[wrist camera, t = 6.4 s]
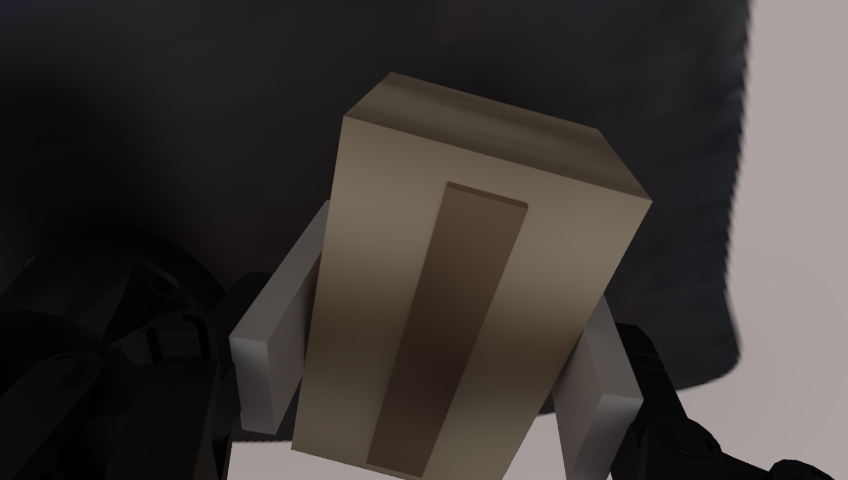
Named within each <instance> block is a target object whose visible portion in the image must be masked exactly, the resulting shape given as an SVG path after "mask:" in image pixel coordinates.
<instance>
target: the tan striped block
mask: <svg viewBox="0 0 848 480" xmlns="http://www.w3.org/2000/svg"><path fill="white" fill-rule="evenodd" d="M651 203H652V200H651V198H650V197H649V196H648V194H647V193H646V192H645V190H644V189H643V188H642V187H641V185H640V184H639V183H638V181H637V180H636V179H635V177H634V176H633V175H632V173H631V172H630V171H629V170H628V168H627V167H626V166H625V164H624V163H623V162H622V160H621V159H620V158H619V157H618V155H617V154H616V153H615V151H614V150H613V149H612V147H611V146H610V145H609V144H608V142H607V141H606V140H605V138H604V137H603V136H602V134H601V133H600V132H599V130H598V129H595V128H591V127H588V126H584V125H580V124H577V123H573V122H570V121H566V120H562V119H559V118H555V117H552V116H548V115H544V114H541V113H537V112H534V111H530V110H527V109H523V108H519V107H516V106H512V105H509V104H505V103H501V102H498V101H494V100H491V99H487V98H483V97H480V96H476V95H473V94H469V93H465V92H462V91H458V90H455V89H451V88H447V87H444V86H440V85H437V84H433V83H429V82H426V81H422V80H419V79H415V78H412V77H408V76H404V75H401V74H397V73H394V72H391V73H390V74H388V75H387V76H386V77H385V78H384V79H383V80H382V81H381V82H380V83H379V84H378V85H376V86H375V87H374V88H373V89H372V90H371V91H370V92H369V93H368V94H367V95H366V96H365V97H363V98H362V99H361V100H360V101H359V102H358V103H357V104H356V105H355V106H354V107H353V108H351V109H350V110H349V111H348V112H347V113H346V114H345V115H344V117H343V123H342V129H341V136H340V142H339V148H338V155H337V161H336V167H335V174H334V180H333V186H332V193H331V199H330V205H329V212H328V218H327V225H326V231H325V237H324V244H323V250H322V256H321V263H320V269H319V275H318V282H317V288H316V294H315V301H314V307H313V313H312V320H311V326H310V332H309V339H308V345H307V351H306V358H305V364H304V373H303V377H302V383H301V390H300V396H299V402H298V409H297V415H296V421H295V428H294V434H293V440H292V447H291V449H292V450H296V451H299V452H303V453H307V454H311V455H314V456H319V457H322V458H326V459H329V460H333V461H337V462H341V463H345V464H348V465H352V466H356V467H360V468H363V469H367V470H371V471H375V472H379V473H382V474H386V475H390V476H394V477H397V478H401V479H405V480H502V478H503V477H504V475H505V473H506V471H507V469H508V468H509V465H510V464H511V462H512V460H513V458H514V457H515V454H516V453H517V451H518V449H519V447H520V445H521V444H522V442H523V440H524V438H525V436H526V434H527V432H528V431H529V429H530V427H531V425H532V423H533V421H534V420H535V418H536V416H537V414H538V412H539V410H540V408H541V407H542V405H543V403H544V401H545V399H546V397H547V395H548V394H549V392H550V390H551V388H552V386H553V384H554V383H555V381H556V379H557V377H558V375H559V373H560V371H561V370H562V368H563V366H564V364H565V362H566V360H567V359H568V357H569V355H570V353H571V351H572V349H573V347H574V346H575V344H576V342H577V340H578V338H579V336H580V334H581V333H582V331H583V329H584V327H585V325H586V323H587V322H588V320H589V318H590V316H591V314H592V312H593V310H594V309H595V307H596V305H597V303H598V301H599V299H600V298H601V296H602V294H603V292H604V290H605V288H606V286H607V285H608V283H609V281H610V279H611V277H612V275H613V273H614V272H615V270H616V268H617V266H618V264H619V262H620V261H621V259H622V257H623V255H624V253H625V251H626V249H627V248H628V246H629V244H630V242H631V240H632V238H633V237H634V235H635V233H636V231H637V229H638V227H639V225H640V224H641V222H642V220H643V218H644V216H645V214H646V212H647V211H648V209H649V207H650V205H651Z"/></svg>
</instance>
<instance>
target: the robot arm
mask: <svg viewBox="0 0 848 480" xmlns="http://www.w3.org/2000/svg"><path fill="white" fill-rule="evenodd" d="M329 205H330V200H326V202H325V203H324V205H323V206H322V207H321V209H320V210H319V211H318V213H317V214H316V216H315V217H314V218H313V220H312V221H311V223H310V224H309V225H308V227H307V228H306V230H305V231H304V232H303V234H302V235H301V237H300V238H299V239H298V241H297V242H296V244H295V245H294V246H293V248H292V249H291V251H290V252H289V253H288V255H287V256H286V258H285V259H284V260H283V262H282V263H281V264H280V266H279V267H278V269H277V270H276V271H275V273H274V274H268V273H261V272H254V271H253V272H251V273H249V274H248V275H246V276H244V277H243V278H241V279H239V280H237V281H236V282H235V284H234V285H233V286H232V287H231V288H230V290H229V291H228V292H227V294H226V296H224V294H223V293H222V291H221V290H220V288H219V287H218V285H217V284H216V283H215V282H214V280H213V279H212V278H211V277H210V276H209V275H208V274H207V273H206V272H205V271H204V270H203V269H202V268H201V267H200V266H199V265H198V264H197V263H196V262H194V261H193V260H192V259H191V258H189V257H188V256H187V255H185V254H184V253H183V252H181V251H180V250H178V249H176V248H175V247H173V246H171V245H170V244H168V243H166V242H164V241H162V240H160V239H158V238H156V237H153V236H151V235H149V234H146V233H143V232H140V231H137V230H133V229H129V228H125V227H119V226H111V225H93V226H86V227H81V228H78V229H74V230H72V231H69V232H67V233H66V234H64V235H62V236H60V237H59V238H57V239H55V240H54V241H52V242H50V243H49V244H47V245H46V246H44V247H42V248H41V249H39V250H38V251H37V252H36V253H34V254H33V255H32V256H31V257H30V258H29V259H28V260H27V261H26V262H25V264H24V266H23V267H22V269H21V270H20V272H19V274H18V275H17V277H16V278H15V279H14V281H13V282H12V283H11V284H10V285H9V286H8V288H7V289H6V290H5V291H4V292H3V294H2V295H1V296H0V480H227V475H228V468H229V462H230V455H231V448H232V438H231V431H230V430H231V428H232V426H233V424H234V422H235V421H236V419H237V417H238V415H239V414H240V418H241V425H242V430H248V431H254V432H260V433H266V434H273V435H275V434H276V432H277V430H278V428H279V425H280V423H281V421H282V419H283V417H284V414H285V412H286V410H287V408H288V406H289V404H290V401H291V399H292V397H293V395H294V393H295V391H296V388H297V386H298V384H299V382H300V380H301V377H302V375H303V373H304V364H305V358H306V351H307V345H308V339H309V332H310V326H311V320H312V313H313V307H314V301H315V294H316V288H317V282H318V275H319V269H320V263H321V256H322V250H323V244H324V237H325V231H326V225H327V218H328V212H329ZM664 370H665V368H664V366H663V364H662V362H661V359H659V355H658V353H657V351H656V349H655V347H654V344H653V342H652V340H651V339H650V338H649V337H648V336H647V335H646V334H645V333H644V332H643V331H642V330H641V329H640V328H639V327H638V326H636V325H629V324H622V323H615V322H614V321H613V318H612V315H611V313H610V310H609V307H608V305H607V302H606V300H605V297H604V294H602V296H601V298H600V299H599V301H598V303H597V305H596V307H595V309H594V310H593V312H592V314H591V316H590V318H589V320H588V322H587V323H586V325H585V327H584V329H583V331H582V333H581V334H580V336H579V338H578V340H577V342H576V344H575V346H574V347H573V349H572V351H571V353H570V355H569V357H568V359H567V360H566V362H565V364H564V366H563V368H562V370H561V371H560V373H559V375H558V377H557V379H556V381H555V383H554V384H553V386H552V394H553V400H554V406H555V412H556V418H557V424H558V430H559V436H560V442H561V448H562V454H563V460H564V466H565V472H566V478H567V480H606V479H607V477H608V475H609V473H610V472H611V476H612V479H613V480H834V479H833V478H832V477H831V476H829V475H828V474H826V473H824V472H823V471H821V470H819V469H817V468H816V467H814V466H812V465H809V464H806V463H803V462H801V461H798V460H786V459H783V460H781V461H779V462H777V463H775V464H774V465H773V466H772V468H771V469H770V471H769V472H768V471H766V470H763V469H761V468H758V467H756V466H753V465H751V464H749V463H746V462H744V461H741V460H739V459H736V458H734V457H732V456H730V455H728V454H726V453H723V452H722V450H721V448H720V445H719V443H718V442H717V441H716V439H715V438H714V437H713V436H712V434H711V433H710V432H709V431H707V430H706V429H705V428H704V427H702V426H701V425H700V424H698V423H697V422H695V421H693V420H691V419H689V418H688V417H687V415H686V413H685V411H684V409H683V407H682V404H681V402H680V400H679V398H678V396H677V394H676V392H675V389H674V387H673V385H672V383H671V381H670V379H669V377H668V374H667V372H665V371H664Z"/></svg>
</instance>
